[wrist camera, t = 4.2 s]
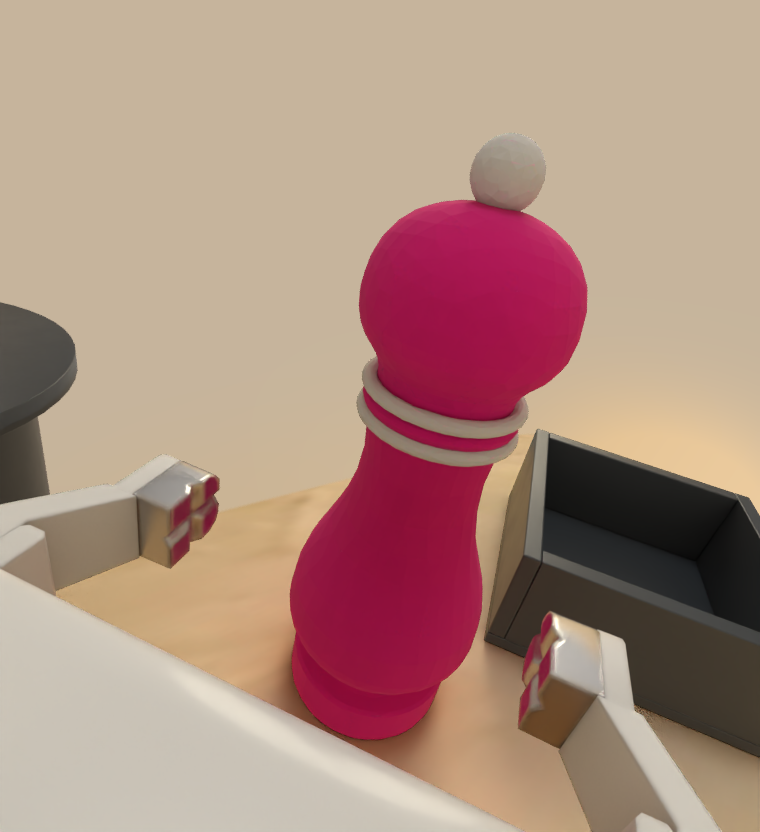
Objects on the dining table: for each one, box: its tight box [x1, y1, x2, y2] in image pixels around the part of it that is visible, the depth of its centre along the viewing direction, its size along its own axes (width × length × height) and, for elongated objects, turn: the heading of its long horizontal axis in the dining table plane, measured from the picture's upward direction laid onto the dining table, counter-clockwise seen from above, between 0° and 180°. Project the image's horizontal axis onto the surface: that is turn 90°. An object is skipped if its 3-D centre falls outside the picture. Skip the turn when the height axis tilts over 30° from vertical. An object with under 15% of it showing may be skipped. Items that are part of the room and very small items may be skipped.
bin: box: [484, 429, 760, 757], centre depth 26 cm, size 13×13×6 cm
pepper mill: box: [290, 133, 587, 739], centre depth 16 cm, size 7×7×20 cm
